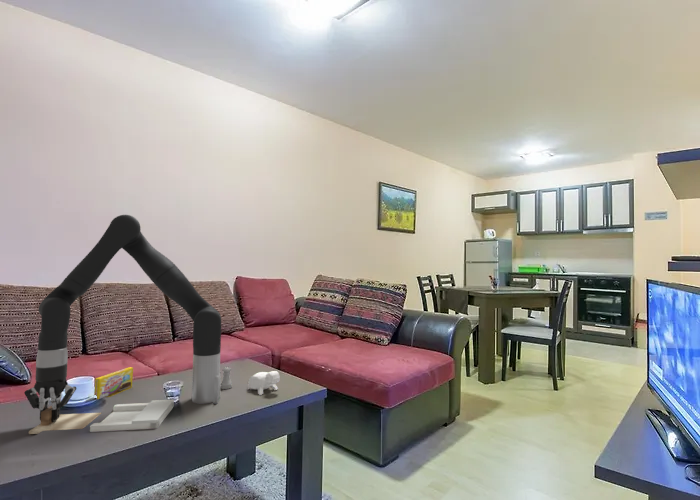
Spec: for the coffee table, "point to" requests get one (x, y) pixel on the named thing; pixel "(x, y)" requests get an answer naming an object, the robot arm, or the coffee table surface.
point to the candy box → (113, 383)
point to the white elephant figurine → (264, 381)
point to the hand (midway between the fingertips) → (49, 421)
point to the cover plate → (63, 421)
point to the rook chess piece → (226, 379)
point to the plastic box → (135, 416)
